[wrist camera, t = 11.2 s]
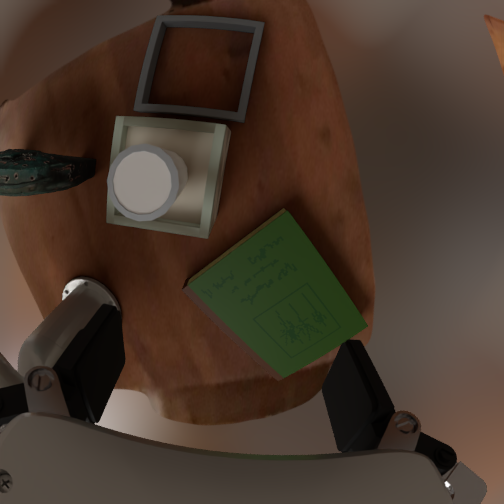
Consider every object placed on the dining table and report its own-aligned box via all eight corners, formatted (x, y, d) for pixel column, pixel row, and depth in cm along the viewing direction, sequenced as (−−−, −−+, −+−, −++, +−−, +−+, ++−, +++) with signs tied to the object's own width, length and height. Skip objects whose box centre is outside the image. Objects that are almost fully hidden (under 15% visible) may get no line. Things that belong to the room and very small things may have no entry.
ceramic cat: (15, 181, 36) (-65, 208, 17) (17, 146, 34) (-66, 161, 15) (98, 187, 38) (9, 222, 19) (102, 145, 35) (8, 154, 17)
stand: (217, 215, 40) (207, 238, 30) (137, 204, 39) (106, 222, 29) (231, 131, 36) (226, 124, 26) (147, 122, 35) (116, 116, 25)
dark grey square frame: (244, 122, 35) (244, 120, 33) (139, 112, 34) (133, 110, 32) (263, 29, 30) (264, 22, 28) (161, 22, 29) (157, 15, 26)
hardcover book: (186, 278, 44) (181, 289, 40) (283, 204, 40) (287, 210, 36) (278, 369, 51) (280, 383, 47) (362, 316, 47) (369, 328, 44)
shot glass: (137, 141, 27) (110, 141, 21) (198, 147, 28) (184, 146, 21) (132, 202, 30) (104, 217, 23) (189, 209, 30) (174, 227, 24)
